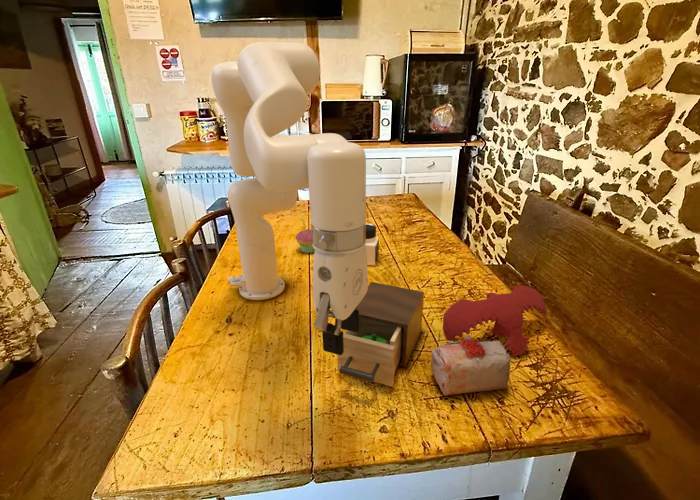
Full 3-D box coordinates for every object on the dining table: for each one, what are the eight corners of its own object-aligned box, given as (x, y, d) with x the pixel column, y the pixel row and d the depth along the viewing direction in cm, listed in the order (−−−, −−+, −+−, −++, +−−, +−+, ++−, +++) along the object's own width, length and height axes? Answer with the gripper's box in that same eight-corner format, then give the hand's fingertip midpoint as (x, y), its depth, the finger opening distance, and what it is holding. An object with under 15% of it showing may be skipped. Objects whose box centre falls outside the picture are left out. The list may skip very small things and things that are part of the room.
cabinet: (405, 367, 82) (407, 324, 77) (349, 352, 86) (348, 311, 82) (421, 330, 93) (424, 291, 89) (371, 319, 98) (371, 281, 93)
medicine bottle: (375, 266, 124) (376, 230, 119) (353, 264, 125) (352, 229, 120) (378, 256, 130) (379, 222, 125) (357, 254, 132) (357, 221, 127)
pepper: (360, 364, 77) (363, 338, 76) (356, 353, 82) (359, 329, 81) (386, 365, 78) (389, 339, 77) (380, 355, 83) (384, 330, 82)
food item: (440, 401, 73) (445, 359, 69) (427, 372, 80) (430, 332, 76) (510, 394, 75) (518, 352, 71) (491, 365, 82) (498, 326, 78)
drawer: (384, 403, 72) (385, 365, 68) (328, 386, 76) (326, 349, 72) (409, 348, 86) (411, 314, 82) (360, 336, 90) (360, 303, 86)
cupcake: (292, 252, 134) (289, 219, 129) (304, 243, 141) (302, 211, 136) (315, 256, 131) (313, 222, 126) (326, 246, 138) (324, 214, 133)
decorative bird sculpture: (549, 344, 95) (525, 284, 99) (580, 339, 86) (552, 274, 90) (449, 376, 85) (428, 309, 89) (473, 374, 77) (447, 300, 81)
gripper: (337, 264, 46) (341, 383, 54) (384, 218, 61) (381, 316, 68) (282, 254, 49) (293, 368, 57) (339, 212, 63) (342, 308, 71)
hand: (341, 339), depth 62 cm, fingers open, 5 cm apart
